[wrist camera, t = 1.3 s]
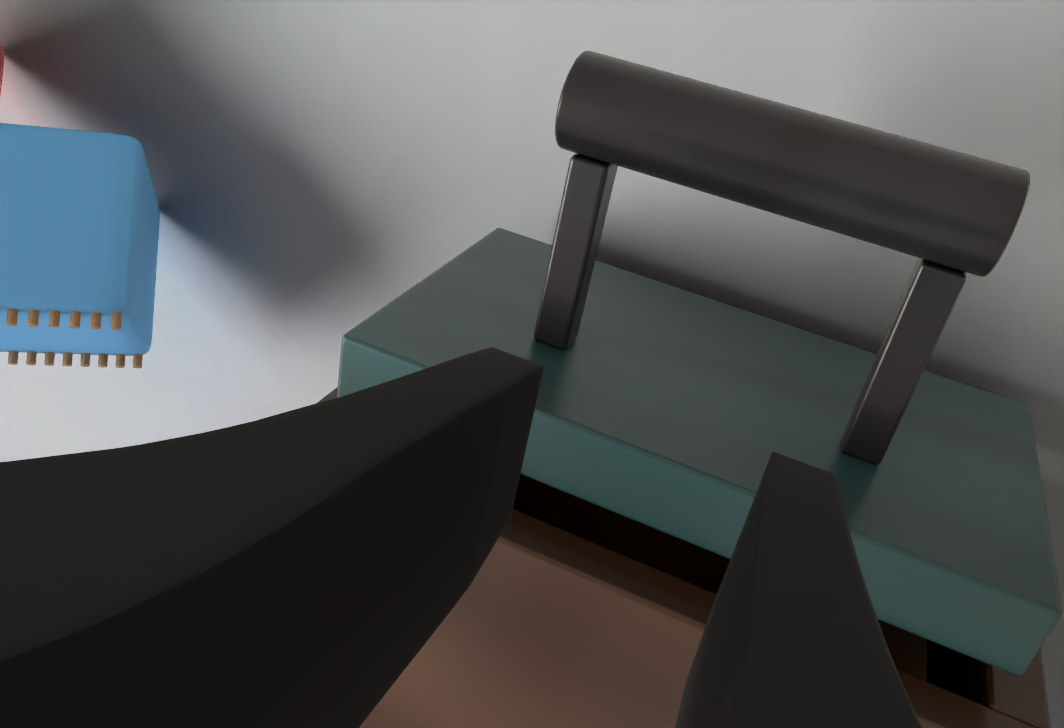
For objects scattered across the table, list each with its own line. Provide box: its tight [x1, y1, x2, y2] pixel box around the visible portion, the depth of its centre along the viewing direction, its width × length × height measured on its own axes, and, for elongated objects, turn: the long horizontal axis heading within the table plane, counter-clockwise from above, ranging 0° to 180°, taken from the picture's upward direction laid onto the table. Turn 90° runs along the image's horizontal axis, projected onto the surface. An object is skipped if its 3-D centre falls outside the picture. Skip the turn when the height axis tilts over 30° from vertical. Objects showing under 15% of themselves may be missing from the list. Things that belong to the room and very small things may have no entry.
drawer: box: [337, 51, 1062, 682], centre depth 17 cm, size 17×10×6 cm, turn 169°
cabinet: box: [316, 387, 1050, 728], centre depth 19 cm, size 14×12×8 cm
